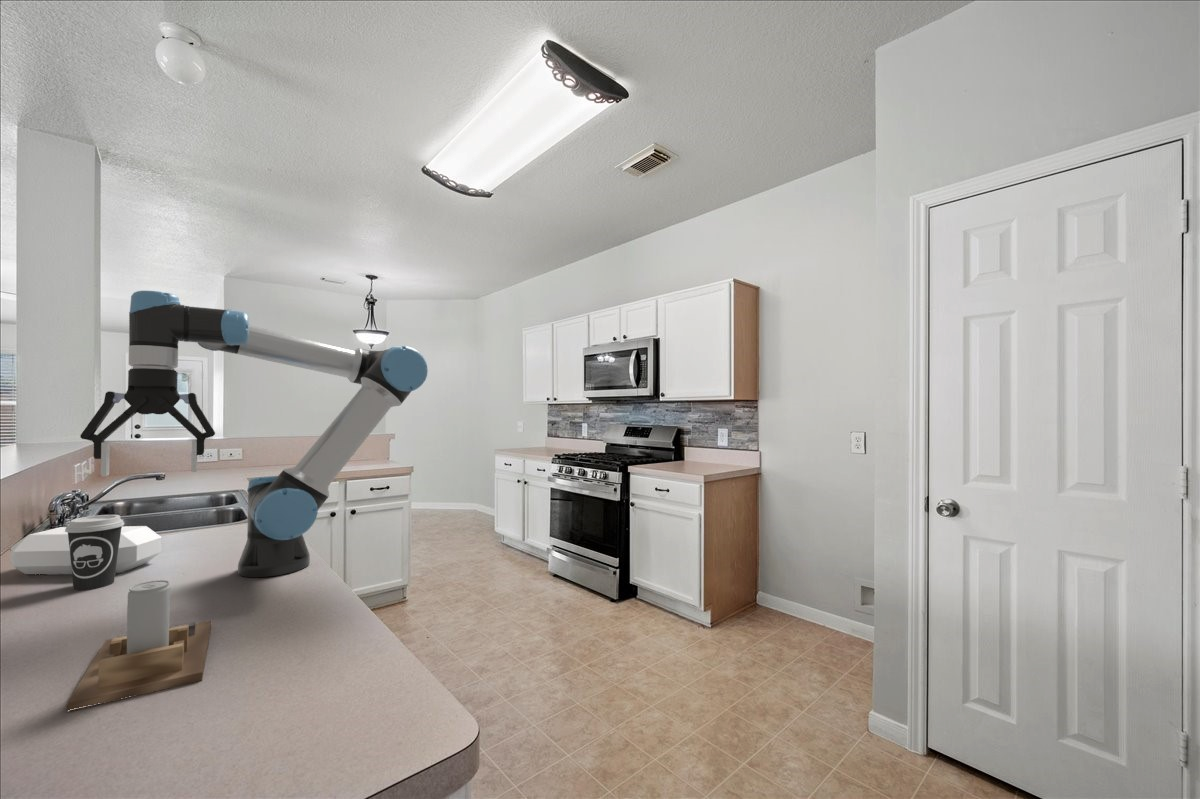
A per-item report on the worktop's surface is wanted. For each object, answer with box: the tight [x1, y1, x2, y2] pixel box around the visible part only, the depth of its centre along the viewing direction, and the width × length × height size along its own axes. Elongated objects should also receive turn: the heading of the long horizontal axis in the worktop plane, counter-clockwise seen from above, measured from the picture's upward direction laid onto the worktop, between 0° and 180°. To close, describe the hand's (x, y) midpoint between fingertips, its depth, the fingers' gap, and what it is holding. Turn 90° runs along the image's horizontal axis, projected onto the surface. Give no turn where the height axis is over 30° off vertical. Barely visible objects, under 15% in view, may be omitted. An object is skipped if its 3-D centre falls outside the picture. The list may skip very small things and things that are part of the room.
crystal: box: [10, 525, 163, 576], centre depth 126 cm, size 14×10×28 cm
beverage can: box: [126, 579, 171, 654], centre depth 76 cm, size 5×5×12 cm
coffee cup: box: [65, 514, 126, 591], centre depth 114 cm, size 10×10×15 cm
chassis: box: [66, 620, 212, 711], centre depth 80 cm, size 14×22×5 cm, turn 35°
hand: (151, 473), depth 102 cm, fingers open, 13 cm apart
